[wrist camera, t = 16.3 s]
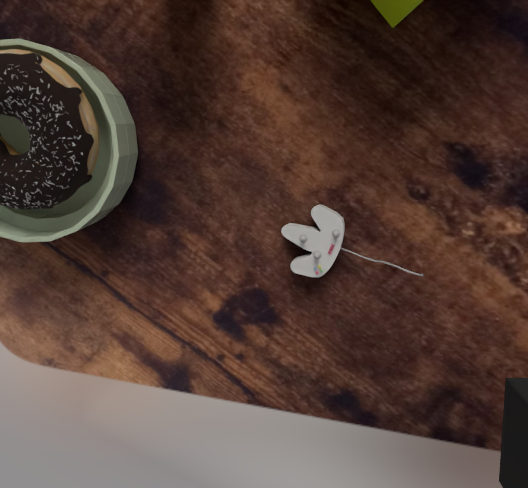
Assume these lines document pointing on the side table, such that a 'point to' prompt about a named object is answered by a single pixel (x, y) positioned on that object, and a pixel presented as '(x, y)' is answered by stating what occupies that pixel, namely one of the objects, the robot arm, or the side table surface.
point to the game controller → (319, 242)
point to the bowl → (107, 166)
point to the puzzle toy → (395, 9)
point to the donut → (44, 132)
